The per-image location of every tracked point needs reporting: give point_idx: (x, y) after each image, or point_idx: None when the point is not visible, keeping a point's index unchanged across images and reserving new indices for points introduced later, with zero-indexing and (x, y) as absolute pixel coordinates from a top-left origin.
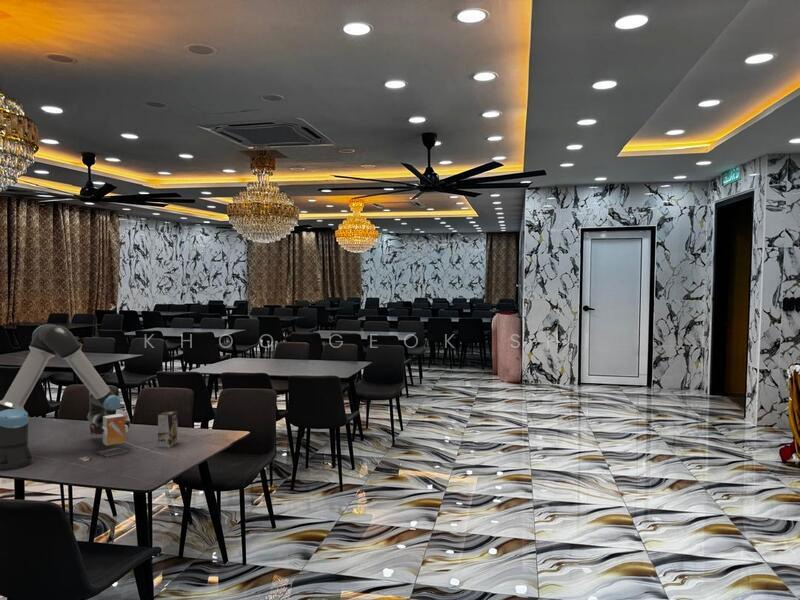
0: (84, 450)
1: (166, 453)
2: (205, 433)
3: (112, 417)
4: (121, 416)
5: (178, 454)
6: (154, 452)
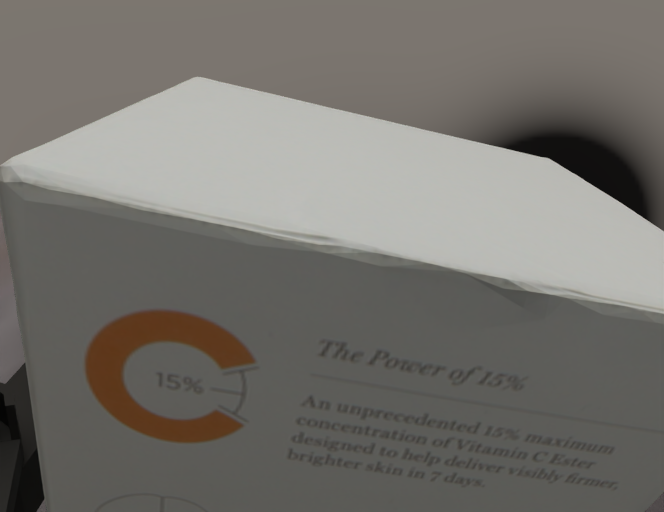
0: None
1: (10, 282)
2: None
3: (451, 137)
4: (271, 94)
5: (4, 235)
6: (19, 347)
